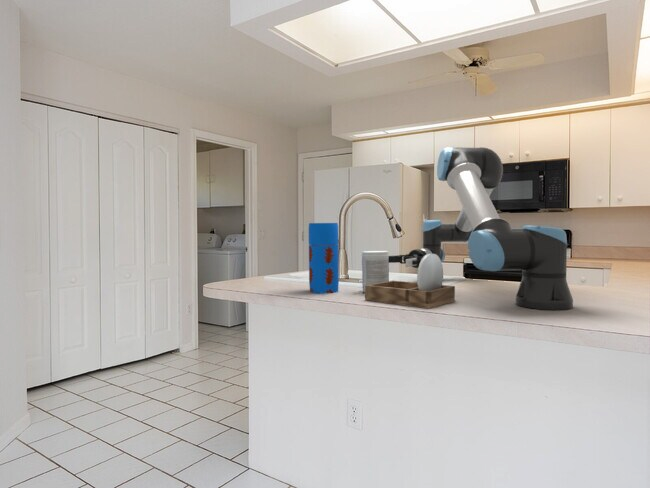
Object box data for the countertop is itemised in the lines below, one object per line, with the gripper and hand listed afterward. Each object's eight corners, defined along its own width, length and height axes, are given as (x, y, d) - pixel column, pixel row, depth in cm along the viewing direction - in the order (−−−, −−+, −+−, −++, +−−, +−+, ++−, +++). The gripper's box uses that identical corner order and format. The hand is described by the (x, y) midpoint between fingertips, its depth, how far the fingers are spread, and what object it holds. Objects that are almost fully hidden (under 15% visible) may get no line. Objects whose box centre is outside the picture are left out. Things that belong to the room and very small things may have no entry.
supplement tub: (394, 292, 160) (394, 251, 159) (374, 294, 154) (373, 252, 154) (377, 289, 168) (376, 250, 167) (356, 291, 162) (356, 251, 162)
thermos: (316, 294, 157) (315, 223, 156) (304, 290, 167) (304, 223, 166) (343, 292, 162) (343, 222, 161) (331, 288, 171) (330, 223, 170)
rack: (454, 301, 140) (454, 286, 140) (429, 308, 129) (429, 292, 128) (393, 293, 156) (393, 280, 156) (365, 299, 144) (365, 285, 144)
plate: (443, 296, 142) (443, 252, 141) (420, 302, 132) (420, 255, 131) (439, 296, 143) (439, 252, 142) (417, 302, 132) (417, 254, 132)
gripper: (448, 269, 175) (420, 274, 160) (394, 265, 192) (364, 269, 176) (448, 250, 175) (420, 253, 159) (394, 248, 192) (364, 250, 176)
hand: (390, 262), depth 168 cm, fingers open, 13 cm apart
